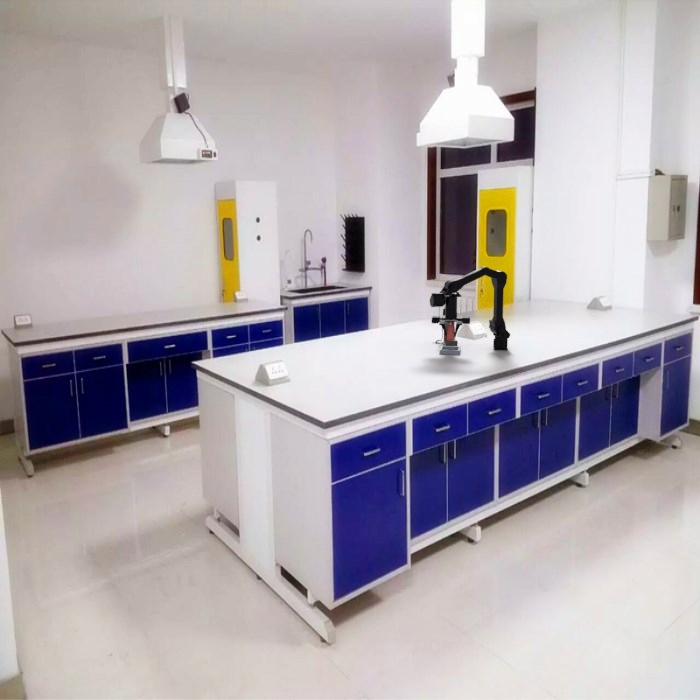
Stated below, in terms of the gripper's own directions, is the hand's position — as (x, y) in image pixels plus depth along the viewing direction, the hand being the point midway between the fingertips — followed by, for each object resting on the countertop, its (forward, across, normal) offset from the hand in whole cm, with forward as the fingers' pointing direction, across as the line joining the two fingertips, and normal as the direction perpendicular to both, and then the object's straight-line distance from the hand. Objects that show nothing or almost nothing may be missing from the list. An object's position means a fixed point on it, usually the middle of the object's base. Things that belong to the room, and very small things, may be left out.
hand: (450, 336), depth 316 cm
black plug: (+6, 0, -11) cm, 12 cm away
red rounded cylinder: (+2, 0, 0) cm, 2 cm away
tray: (+8, 0, 0) cm, 8 cm away
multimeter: (+8, +5, -20) cm, 22 cm away
